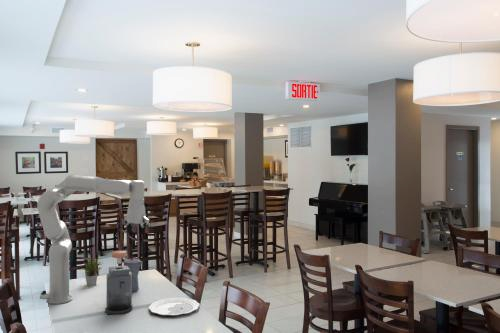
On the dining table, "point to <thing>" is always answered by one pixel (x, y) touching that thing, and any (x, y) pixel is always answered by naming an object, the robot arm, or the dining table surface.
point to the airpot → (119, 291)
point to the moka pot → (133, 271)
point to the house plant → (91, 272)
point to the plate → (171, 305)
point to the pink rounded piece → (119, 255)
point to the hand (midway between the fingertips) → (136, 233)
